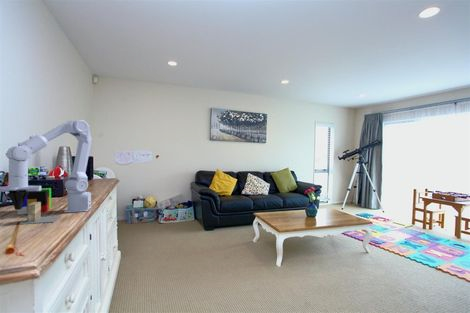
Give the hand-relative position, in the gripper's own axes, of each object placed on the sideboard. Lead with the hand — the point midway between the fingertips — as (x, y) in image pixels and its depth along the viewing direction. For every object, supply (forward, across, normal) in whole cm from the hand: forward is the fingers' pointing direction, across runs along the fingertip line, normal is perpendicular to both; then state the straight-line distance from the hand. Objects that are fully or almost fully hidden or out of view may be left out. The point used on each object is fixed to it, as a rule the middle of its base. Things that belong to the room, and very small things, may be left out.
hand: (18, 209), depth 93 cm
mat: (+5, +8, 0) cm, 9 cm away
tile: (+5, +5, 0) cm, 7 cm away
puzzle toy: (+6, -2, +18) cm, 19 cm away
